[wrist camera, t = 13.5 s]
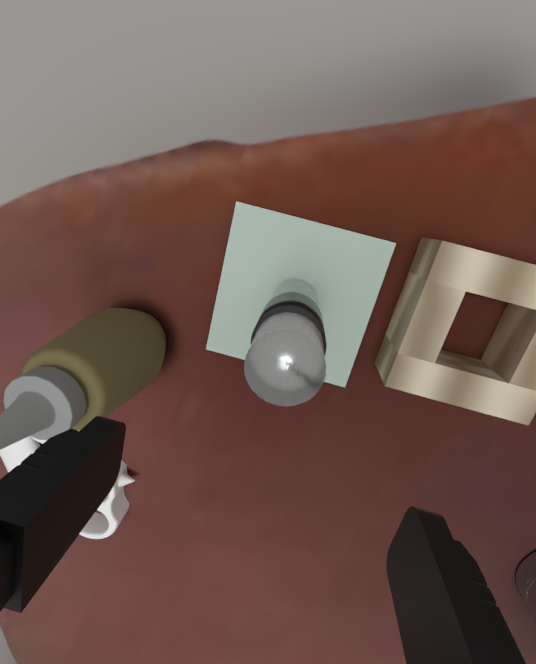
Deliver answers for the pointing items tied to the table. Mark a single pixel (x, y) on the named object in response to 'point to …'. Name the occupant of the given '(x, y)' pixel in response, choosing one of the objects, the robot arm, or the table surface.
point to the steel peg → (288, 347)
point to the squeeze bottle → (83, 375)
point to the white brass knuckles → (110, 507)
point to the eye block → (436, 319)
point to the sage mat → (303, 263)
